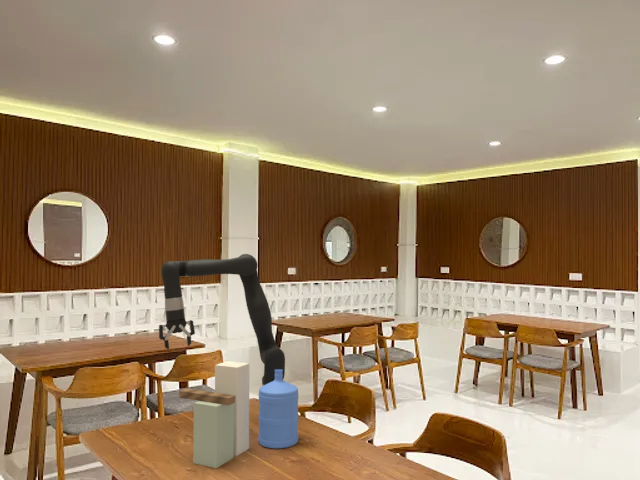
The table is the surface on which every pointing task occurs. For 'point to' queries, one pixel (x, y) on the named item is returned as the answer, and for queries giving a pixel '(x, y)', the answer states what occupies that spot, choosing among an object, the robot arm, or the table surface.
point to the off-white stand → (236, 398)
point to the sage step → (213, 433)
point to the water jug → (278, 413)
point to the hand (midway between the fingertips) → (178, 347)
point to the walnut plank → (207, 396)
